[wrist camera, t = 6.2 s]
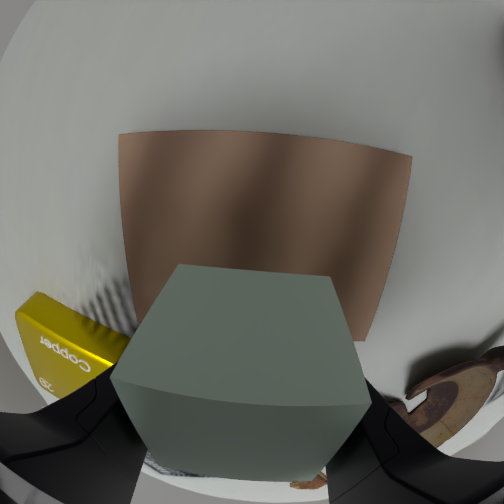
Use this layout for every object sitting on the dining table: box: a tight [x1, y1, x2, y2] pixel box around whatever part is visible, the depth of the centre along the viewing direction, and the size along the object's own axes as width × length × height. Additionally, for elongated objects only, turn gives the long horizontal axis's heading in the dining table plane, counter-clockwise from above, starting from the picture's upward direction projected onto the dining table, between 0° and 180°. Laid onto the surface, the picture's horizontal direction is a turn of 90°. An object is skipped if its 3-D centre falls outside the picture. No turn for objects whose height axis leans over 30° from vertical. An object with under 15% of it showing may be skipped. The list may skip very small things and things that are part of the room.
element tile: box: [15, 292, 131, 399], centre depth 23 cm, size 15×15×5 cm
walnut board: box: [118, 130, 412, 341], centre depth 17 cm, size 18×14×2 cm
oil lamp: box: [390, 346, 504, 448], centre depth 22 cm, size 22×30×8 cm
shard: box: [290, 471, 327, 489], centre depth 36 cm, size 11×8×2 cm
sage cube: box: [110, 264, 372, 482], centre depth 8 cm, size 5×5×5 cm
